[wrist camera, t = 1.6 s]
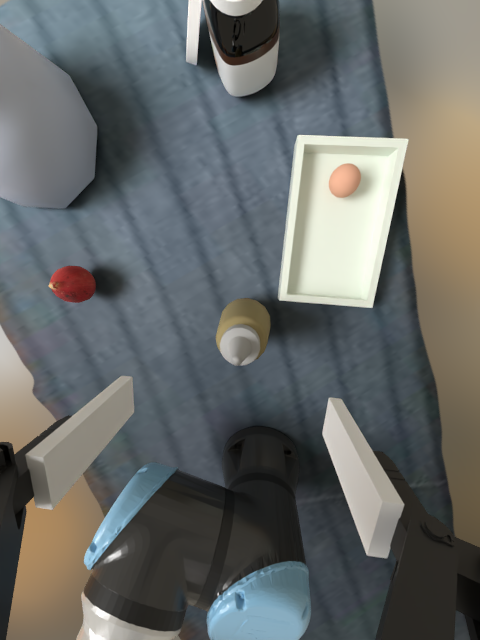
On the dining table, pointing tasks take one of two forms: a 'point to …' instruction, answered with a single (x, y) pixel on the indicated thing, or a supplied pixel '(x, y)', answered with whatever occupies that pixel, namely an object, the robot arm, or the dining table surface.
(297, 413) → the dining table surface
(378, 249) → the tray
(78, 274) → the red fruit
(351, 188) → the egg
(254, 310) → the squeeze bottle
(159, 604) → the robot arm
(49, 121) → the bottle
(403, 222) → the dining table surface
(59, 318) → the dining table surface
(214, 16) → the spread jar
